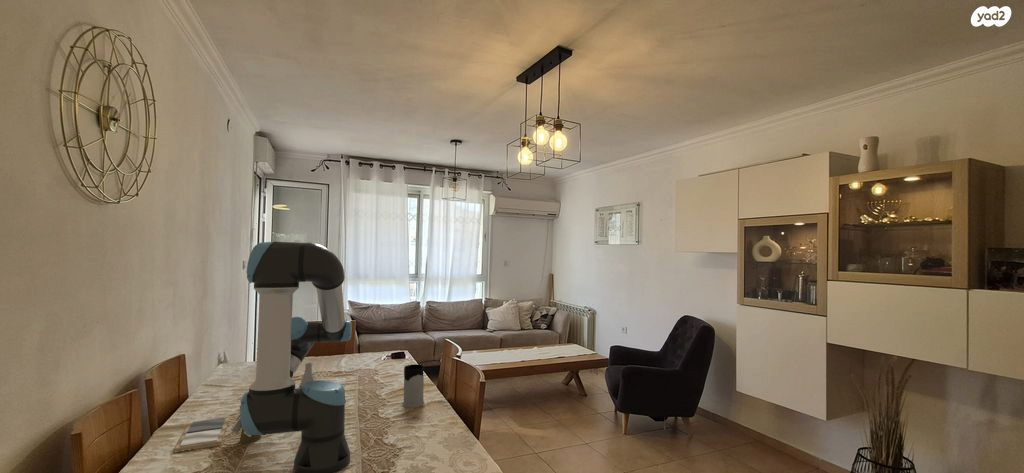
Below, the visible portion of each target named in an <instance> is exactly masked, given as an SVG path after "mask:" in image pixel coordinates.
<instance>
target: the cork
mask: <svg viewBox="0 0 1024 473" xmlns="http://www.w3.org/2000/svg"><path fill="white" fill-rule="evenodd" d="M240 431H241V432H240V436H239V437H240V438H239V443H241V444H252V443H255V441H256V442H258V441H259V439H260V438H262V435H251V437H248V436H247V435H246V434H244V430H243V427H242V428H241V430H240ZM257 440H258V441H257ZM260 440H261V439H260Z"/></svg>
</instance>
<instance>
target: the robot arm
mask: <svg viewBox="0 0 1024 473" xmlns="http://www.w3.org/2000/svg"><path fill="white" fill-rule="evenodd" d="M246 264H247V265H246V280H247V282H249V283H252V284H253V290H254V291H255V292H256V293H257V294H258V295H259V299H258V302H259V303H258V318H257V319H258V321H257V322H258V323H257V345H256V346H257V348H256V363H255V364H256V365H255V366H256V368H255V371H256V372H255V380H254V381H253V382H252V383H251V384H250V385H249V388H248V391H246V392H245V393H243V394H242V397H241V400H240V405H239V415H238V417H237V418H236V421H235V422H234V424H233V425H232V426H231V428H230V431H231V432H232V433H233V434H235V435H238V433H239V432H240V431H241V430H242V427H243V430H244V434H246V435H247V436H248V437H251V435H261V436H266V435H273V434H274V435H275V434H284V433H293V432H301V433H300V436H301V437H300V442H299V445H298V448H297V450H296V451H297V452H296V453H295V456H294V459H293V460H294V461H293V472H294V473H338V472H340V471H341V470H343V469H344V468H347V466H348V465H349V464H350V462H351V451H350V447H349V444H348V441H347V439H346V438H347V437H346V436H345V424H346V422H345V419H346V402H347V400H346V389H345V387H344V386H343V384H341V383H338V382H336V381H334V380H333V381H332V380H321V379H319V380H318V379H317V380H316V379H315V380H316V381H310V382H306V383H305V384H304V385H303V387H301V388H296V381H295V380H294V379H293V376H294V374H295V373H296V372H297V371H298V368H299V367H300V366H301V364H302V363H303V362H304V359H305V358H306V357H307V355H308V354H309V352H310V350H311V349H312V348H313V346H314V345H315V343H317V344H318V343H341V342H348V341H349V342H350V340H351V339H352V332H353V331H352V330H353V326H352V325H353V324H352V321H351V320H346V317H345V307H344V295H343V294H344V293H343V284H344V282H345V270H344V267H343V264H342V263H341V261H340V260H339V257H337V255H336V254H335V253H334V252H332V251H331V250H330V249H329V248H327V247H326V246H324V245H322V244H319V243H317V242H296V241H295V242H293V241H290V242H289V241H263V242H259V243H257V244H255V245H254V247H253V248H252V250H251V252H250V254H249V257H248V260H247V263H246ZM305 282H307V283H308V282H310V283H311V284H312V286H313V287H314V288H316V294H317V300H318V307H319V312H320V318H321V320H319V321H318V320H317V321H307V320H306V319H305V318H304V317H300V316H294V317H293V301H294V293H295V292H296V291H297V290H298V289H300V283H305Z"/></svg>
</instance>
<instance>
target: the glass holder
mask: <svg viewBox="0 0 1024 473" xmlns="http://www.w3.org/2000/svg"><path fill="white" fill-rule="evenodd" d="M424 379H425V377H424V365H422V364H408V365H404V367H403V401H402V402H403V403H402V406H403V407H405V408H409V409H414V407H416V408H420V407H423V406H424V405H425V401H424V389H425V387H424V384H425V383H424V382H425V380H424ZM423 404H424V405H423ZM422 405H423V406H422ZM419 406H420V407H419Z"/></svg>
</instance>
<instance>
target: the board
mask: <svg viewBox="0 0 1024 473" xmlns="http://www.w3.org/2000/svg"><path fill="white" fill-rule="evenodd" d="M230 420H231V419H230V417H229V416H228V417H218V418H213V419H212V418H211V419H204V420H198V421H192V422H189V423H187V426H186V428H185V430H184V431H183V432H182V435H181V436H180V438H179V440H178V442H177V443H176V445H175V446H174V451H173V452H175V451H182V450H188V451H190V450H189V449H194V450H199V448H200V449H205V448H210V447H212V448H213V447H217V446H222V443H223V441H224V438H225V436H226V432H227V429H228V427H229V423H230ZM182 452H183V451H182ZM175 453H176V452H175Z"/></svg>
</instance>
